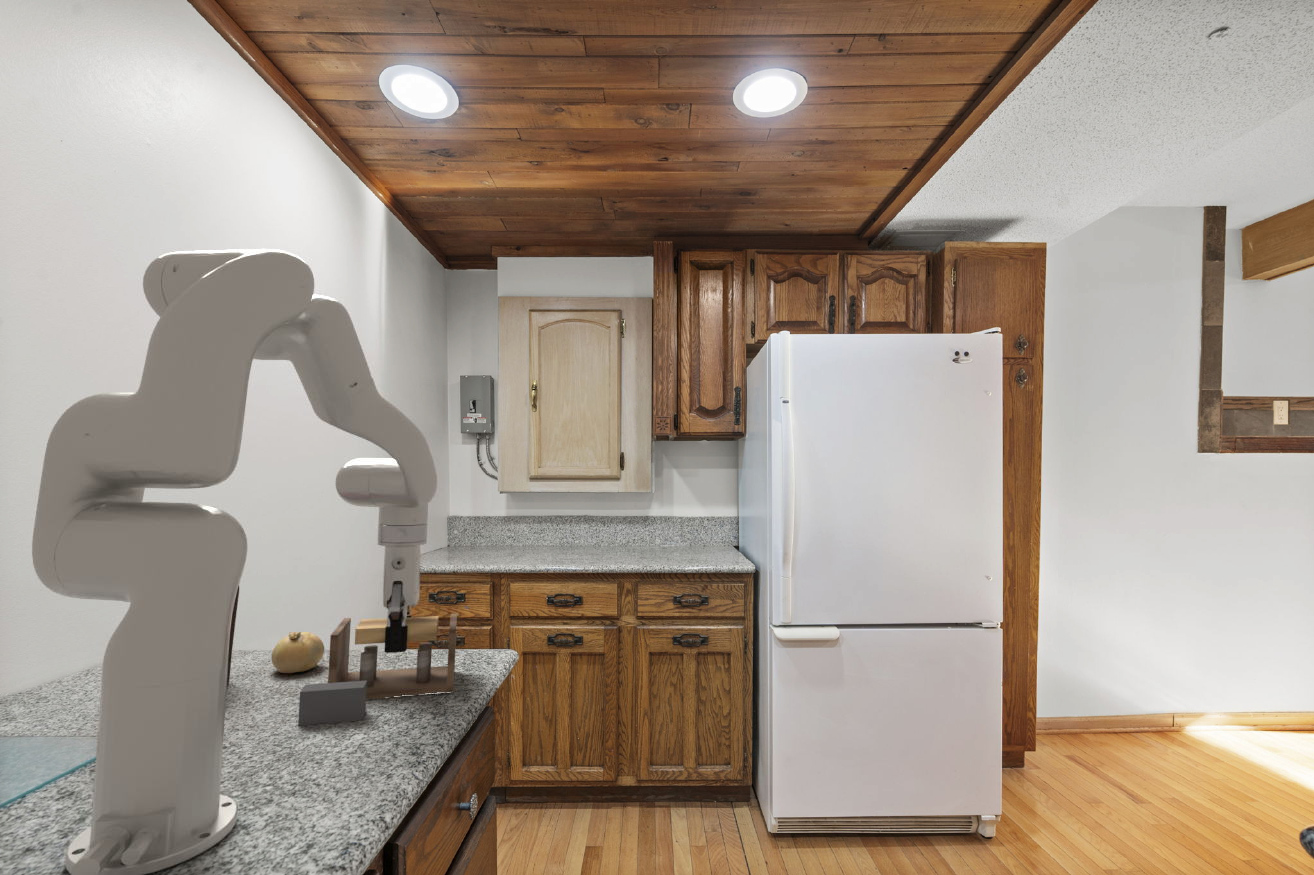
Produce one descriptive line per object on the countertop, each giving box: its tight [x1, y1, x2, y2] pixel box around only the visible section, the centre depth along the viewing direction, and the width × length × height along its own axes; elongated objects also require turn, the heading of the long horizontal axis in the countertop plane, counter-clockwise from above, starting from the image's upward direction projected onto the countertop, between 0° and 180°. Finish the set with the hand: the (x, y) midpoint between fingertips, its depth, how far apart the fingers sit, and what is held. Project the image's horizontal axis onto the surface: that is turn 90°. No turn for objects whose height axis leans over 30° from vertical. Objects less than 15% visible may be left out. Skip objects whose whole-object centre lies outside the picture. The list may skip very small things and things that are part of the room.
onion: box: [271, 631, 326, 674], centre depth 107 cm, size 8×8×7 cm
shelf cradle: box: [327, 613, 458, 701], centre depth 101 cm, size 11×18×10 cm, turn 107°
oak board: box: [354, 615, 439, 646], centre depth 101 cm, size 6×12×2 cm, turn 107°
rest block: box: [297, 680, 367, 727], centre depth 87 cm, size 3×8×4 cm, turn 107°
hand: (397, 644), depth 101 cm, fingers closed on oak board, 6 cm apart
